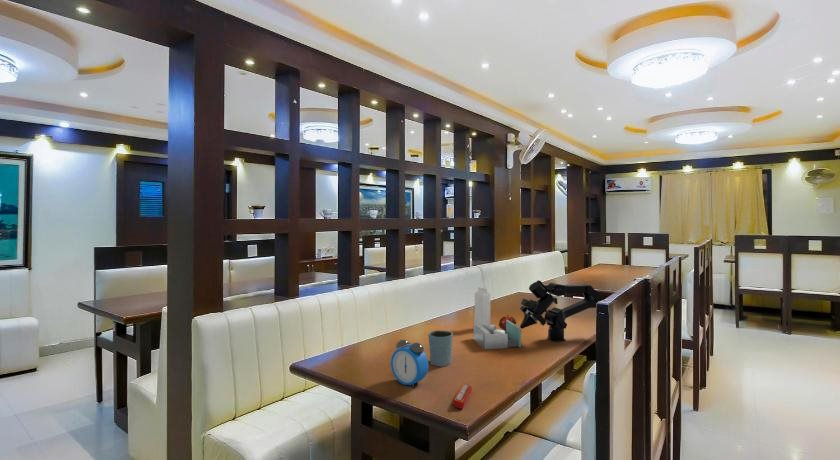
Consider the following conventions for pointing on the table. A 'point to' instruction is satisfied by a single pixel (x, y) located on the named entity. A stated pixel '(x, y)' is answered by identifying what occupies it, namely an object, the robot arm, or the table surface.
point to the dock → (489, 337)
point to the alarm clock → (409, 363)
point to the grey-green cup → (440, 347)
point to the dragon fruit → (503, 322)
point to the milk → (482, 307)
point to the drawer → (512, 334)
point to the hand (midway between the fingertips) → (520, 327)
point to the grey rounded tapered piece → (499, 331)
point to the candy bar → (462, 396)
